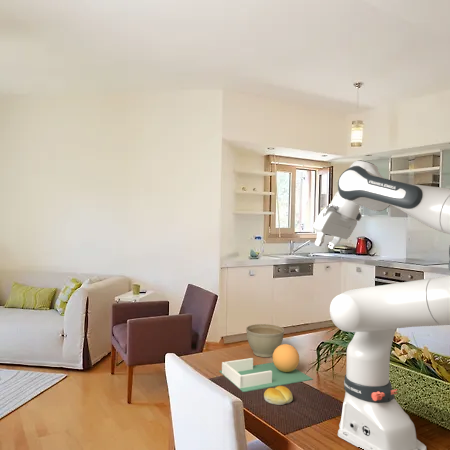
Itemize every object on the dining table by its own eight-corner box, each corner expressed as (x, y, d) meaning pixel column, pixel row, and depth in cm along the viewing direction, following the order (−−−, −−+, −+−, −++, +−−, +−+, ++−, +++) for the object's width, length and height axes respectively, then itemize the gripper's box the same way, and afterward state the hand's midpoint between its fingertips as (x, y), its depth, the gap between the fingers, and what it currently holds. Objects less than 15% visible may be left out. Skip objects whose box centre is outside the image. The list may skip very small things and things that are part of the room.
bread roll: (259, 397, 131) (259, 385, 131) (282, 393, 135) (283, 381, 135) (272, 408, 124) (272, 395, 124) (297, 403, 128) (297, 390, 128)
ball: (304, 373, 151) (304, 347, 151) (281, 377, 147) (281, 350, 147) (289, 365, 160) (289, 339, 160) (267, 368, 156) (267, 342, 156)
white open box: (271, 382, 142) (272, 371, 142) (239, 388, 137) (240, 376, 137) (251, 368, 156) (251, 357, 156) (221, 373, 151) (222, 362, 151)
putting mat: (312, 379, 146) (312, 378, 146) (243, 392, 135) (243, 391, 135) (282, 361, 164) (282, 360, 164) (219, 371, 153) (219, 370, 153)
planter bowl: (246, 360, 166) (246, 333, 166) (245, 347, 182) (245, 323, 182) (285, 361, 165) (286, 334, 165) (281, 348, 181) (282, 324, 181)
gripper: (337, 206, 121) (316, 248, 124) (364, 217, 137) (345, 253, 139) (320, 198, 125) (300, 238, 128) (348, 210, 141) (330, 245, 143)
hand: (324, 246), depth 133 cm, fingers open, 8 cm apart
